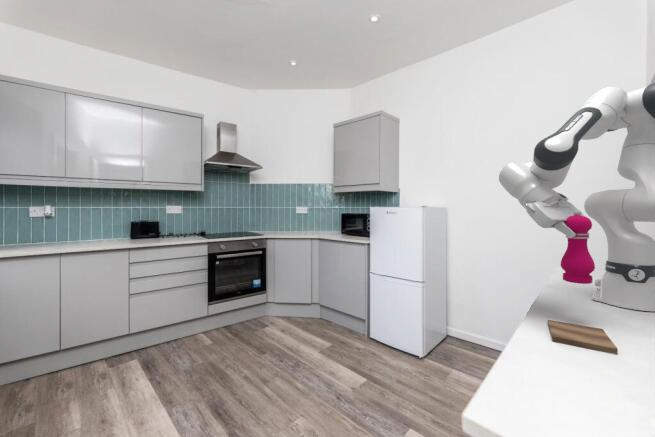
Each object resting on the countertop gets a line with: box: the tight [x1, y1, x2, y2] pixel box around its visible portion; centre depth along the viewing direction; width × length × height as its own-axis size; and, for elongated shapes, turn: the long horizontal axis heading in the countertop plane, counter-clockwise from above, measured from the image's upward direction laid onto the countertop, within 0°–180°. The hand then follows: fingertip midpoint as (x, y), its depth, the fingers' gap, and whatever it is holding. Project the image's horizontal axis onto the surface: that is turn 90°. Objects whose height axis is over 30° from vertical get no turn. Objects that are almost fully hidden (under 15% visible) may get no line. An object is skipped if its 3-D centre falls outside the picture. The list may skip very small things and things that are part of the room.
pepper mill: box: [560, 209, 596, 285], centre depth 80 cm, size 7×7×20 cm
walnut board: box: [547, 319, 618, 355], centre depth 70 cm, size 13×11×1 cm
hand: (580, 236), depth 79 cm, fingers closed on pepper mill, 5 cm apart
